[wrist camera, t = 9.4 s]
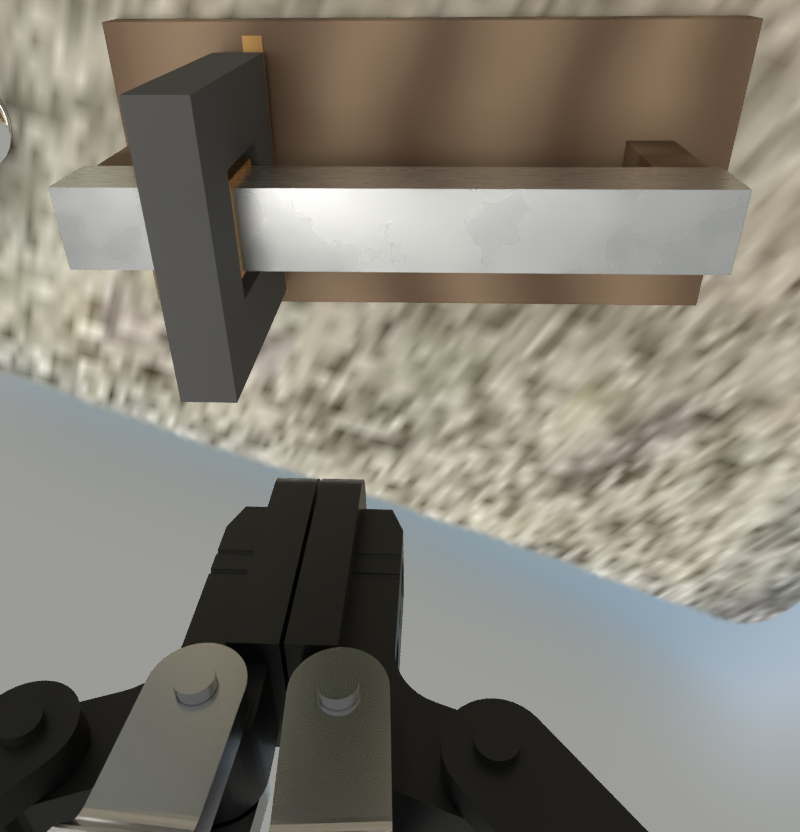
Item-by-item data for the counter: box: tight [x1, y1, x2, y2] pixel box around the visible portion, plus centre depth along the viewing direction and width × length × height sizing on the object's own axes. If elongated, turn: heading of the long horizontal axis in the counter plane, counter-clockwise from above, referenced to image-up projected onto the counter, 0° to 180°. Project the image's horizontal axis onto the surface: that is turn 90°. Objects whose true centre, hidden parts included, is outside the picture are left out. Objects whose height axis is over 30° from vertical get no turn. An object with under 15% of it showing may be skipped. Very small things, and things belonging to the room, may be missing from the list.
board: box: [97, 16, 763, 305], centre depth 30 cm, size 26×12×6 cm, turn 90°
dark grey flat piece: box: [119, 52, 286, 403], centre depth 27 cm, size 2×10×10 cm, turn 0°
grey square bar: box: [48, 158, 752, 278], centre depth 27 cm, size 24×4×4 cm, turn 90°
